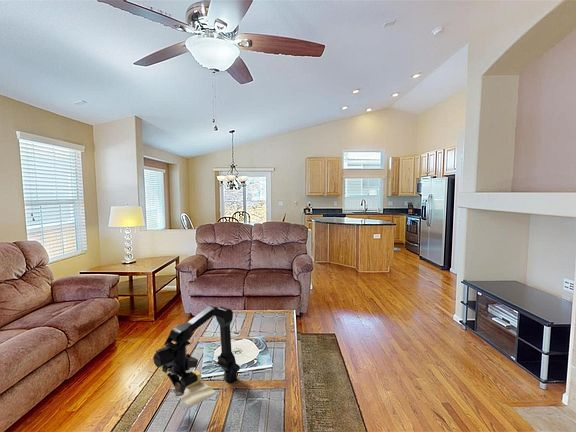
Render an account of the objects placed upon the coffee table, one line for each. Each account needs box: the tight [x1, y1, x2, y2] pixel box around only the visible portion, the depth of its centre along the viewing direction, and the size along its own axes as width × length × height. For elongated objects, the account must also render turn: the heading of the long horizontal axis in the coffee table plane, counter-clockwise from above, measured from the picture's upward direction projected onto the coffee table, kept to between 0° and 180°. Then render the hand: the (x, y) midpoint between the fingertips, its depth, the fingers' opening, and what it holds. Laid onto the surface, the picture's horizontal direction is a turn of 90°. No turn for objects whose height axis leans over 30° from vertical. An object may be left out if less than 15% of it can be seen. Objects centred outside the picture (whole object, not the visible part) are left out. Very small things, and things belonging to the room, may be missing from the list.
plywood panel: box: [169, 379, 217, 408], centre depth 152 cm, size 20×14×1 cm
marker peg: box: [174, 382, 184, 397], centre depth 137 cm, size 4×4×5 cm
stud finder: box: [186, 369, 202, 388], centre depth 157 cm, size 4×7×5 cm, turn 134°
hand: (179, 391), depth 137 cm, fingers closed on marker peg, 4 cm apart
